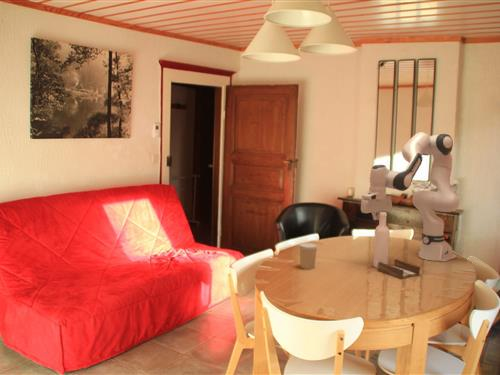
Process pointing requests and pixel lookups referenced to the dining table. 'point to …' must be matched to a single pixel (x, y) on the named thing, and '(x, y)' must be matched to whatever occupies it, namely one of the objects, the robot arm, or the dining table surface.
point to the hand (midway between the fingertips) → (376, 219)
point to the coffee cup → (307, 255)
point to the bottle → (381, 241)
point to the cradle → (399, 269)
